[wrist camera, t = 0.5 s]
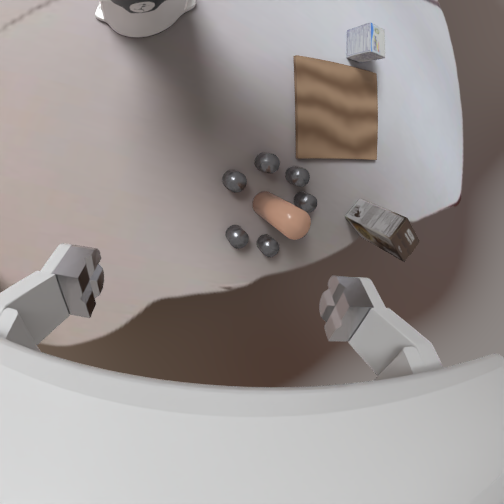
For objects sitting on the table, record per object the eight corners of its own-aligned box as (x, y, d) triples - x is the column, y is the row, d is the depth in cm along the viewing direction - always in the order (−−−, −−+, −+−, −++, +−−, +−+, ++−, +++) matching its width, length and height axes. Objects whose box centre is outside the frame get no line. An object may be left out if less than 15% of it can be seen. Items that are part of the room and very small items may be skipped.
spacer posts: (221, 155, 49) (225, 156, 46) (309, 151, 54) (318, 153, 51) (227, 256, 57) (231, 263, 54) (306, 243, 63) (314, 248, 60)
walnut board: (293, 56, 44) (295, 55, 44) (373, 73, 51) (376, 73, 50) (295, 158, 54) (297, 158, 53) (373, 159, 60) (376, 159, 59)
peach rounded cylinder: (252, 192, 54) (282, 211, 42) (275, 190, 55) (311, 208, 43) (252, 216, 56) (282, 241, 44) (275, 213, 57) (309, 237, 45)
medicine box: (360, 63, 49) (386, 58, 41) (345, 57, 47) (371, 51, 40) (360, 36, 46) (385, 29, 38) (346, 30, 44) (370, 21, 37)
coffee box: (375, 219, 68) (420, 241, 54) (360, 237, 68) (404, 263, 54) (359, 197, 63) (408, 216, 49) (343, 216, 64) (390, 240, 50)
